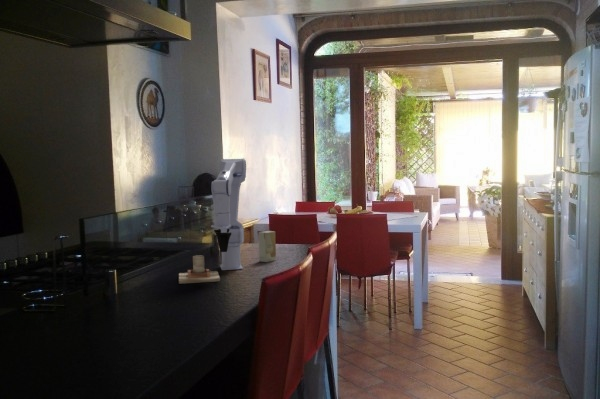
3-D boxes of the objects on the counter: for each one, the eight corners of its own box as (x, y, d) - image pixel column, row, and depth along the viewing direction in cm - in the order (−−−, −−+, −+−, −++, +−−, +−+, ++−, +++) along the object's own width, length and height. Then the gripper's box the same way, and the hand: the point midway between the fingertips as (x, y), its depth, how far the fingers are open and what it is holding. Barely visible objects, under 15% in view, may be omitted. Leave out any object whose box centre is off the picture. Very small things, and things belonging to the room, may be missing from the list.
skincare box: (266, 262, 238) (265, 232, 237) (258, 261, 240) (257, 232, 240) (276, 260, 243) (275, 231, 242) (268, 259, 246) (267, 230, 245)
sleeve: (193, 274, 210) (192, 255, 210) (204, 274, 211) (204, 255, 210) (193, 277, 206) (192, 257, 206) (204, 276, 207) (204, 256, 206)
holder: (178, 275, 214) (178, 269, 214) (217, 273, 217) (217, 266, 217) (179, 283, 200) (178, 276, 200) (220, 281, 203) (219, 274, 203)
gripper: (209, 211, 217) (210, 247, 218) (211, 215, 203) (213, 253, 204) (228, 210, 218) (229, 246, 219) (232, 214, 204) (233, 252, 205)
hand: (223, 250), depth 212 cm, fingers open, 7 cm apart
